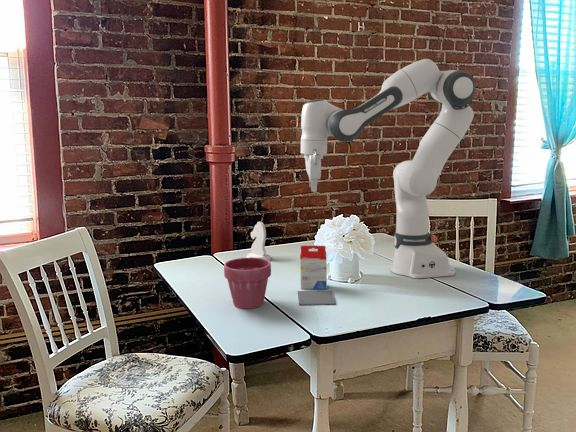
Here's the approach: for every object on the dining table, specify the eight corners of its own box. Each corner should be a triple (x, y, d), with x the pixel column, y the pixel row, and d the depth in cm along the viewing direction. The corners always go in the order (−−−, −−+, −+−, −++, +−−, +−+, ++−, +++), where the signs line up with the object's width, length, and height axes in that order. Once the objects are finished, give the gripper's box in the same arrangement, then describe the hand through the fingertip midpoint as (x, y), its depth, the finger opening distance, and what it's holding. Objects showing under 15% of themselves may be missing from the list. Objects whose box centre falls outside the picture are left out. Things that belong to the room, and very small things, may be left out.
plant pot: (230, 295, 182) (229, 256, 179) (274, 296, 180) (273, 257, 178) (220, 311, 168) (219, 269, 165) (267, 312, 166) (267, 270, 164)
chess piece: (259, 254, 229) (259, 217, 226) (276, 259, 222) (275, 221, 219) (240, 259, 223) (239, 221, 220) (257, 264, 216) (256, 225, 213)
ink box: (326, 284, 191) (326, 242, 188) (326, 289, 186) (326, 246, 183) (301, 284, 192) (301, 241, 189) (300, 289, 187) (299, 245, 184)
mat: (331, 291, 184) (331, 290, 184) (335, 304, 172) (335, 303, 172) (297, 292, 184) (297, 291, 184) (299, 305, 172) (299, 304, 172)
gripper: (325, 151, 181) (324, 194, 184) (320, 146, 201) (319, 185, 204) (306, 151, 181) (305, 194, 184) (302, 145, 201) (302, 184, 204)
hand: (312, 189), depth 194 cm, fingers open, 8 cm apart
